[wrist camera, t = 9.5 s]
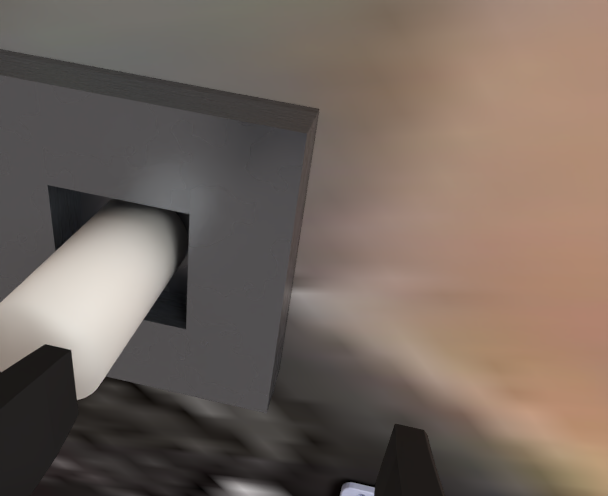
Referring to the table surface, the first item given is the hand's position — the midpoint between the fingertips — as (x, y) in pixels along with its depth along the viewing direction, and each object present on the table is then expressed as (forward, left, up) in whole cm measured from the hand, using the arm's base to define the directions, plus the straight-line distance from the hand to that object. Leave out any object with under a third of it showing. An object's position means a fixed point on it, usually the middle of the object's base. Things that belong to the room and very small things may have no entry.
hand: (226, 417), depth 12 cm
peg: (+6, +2, -9) cm, 11 cm away
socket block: (+6, +2, -10) cm, 12 cm away
